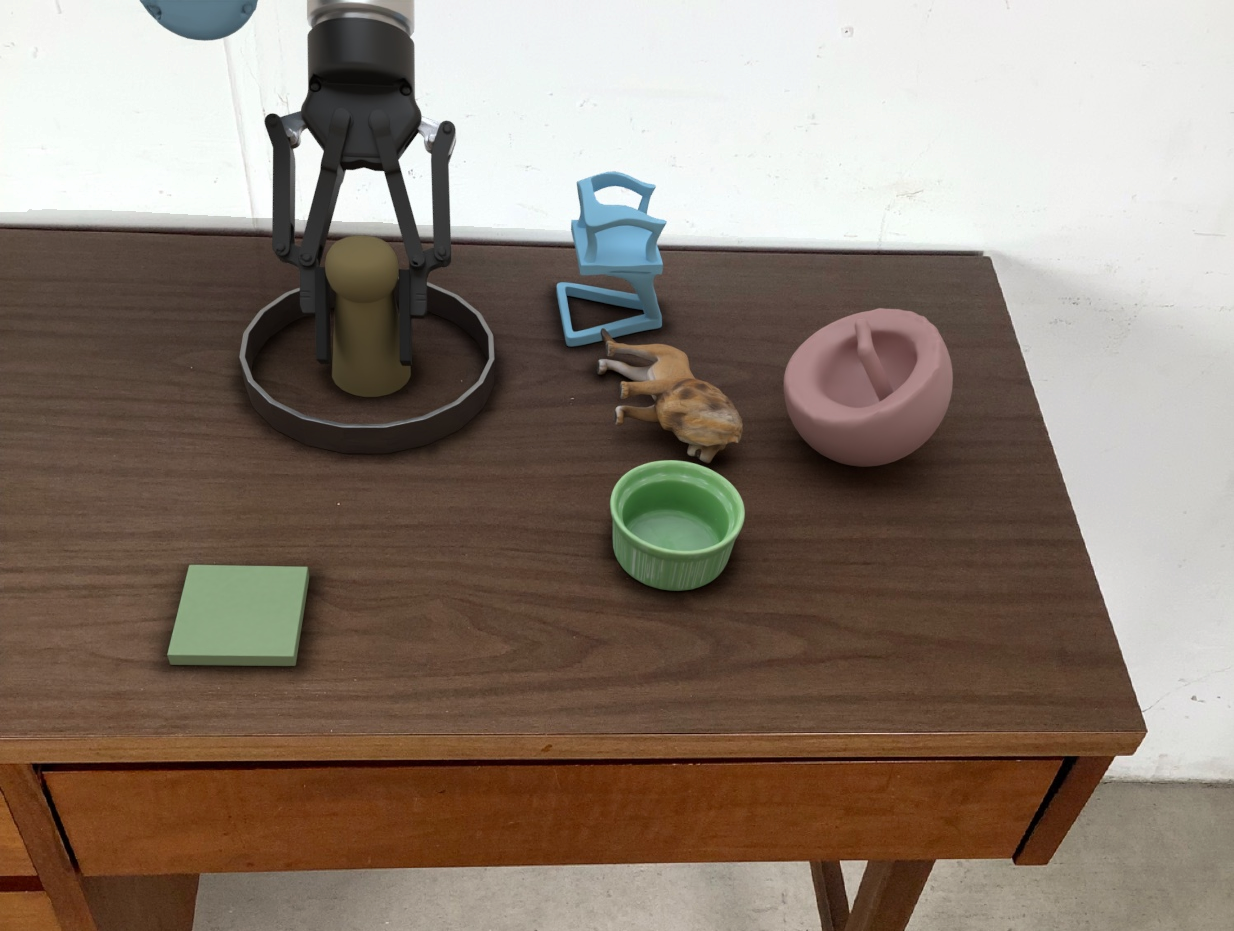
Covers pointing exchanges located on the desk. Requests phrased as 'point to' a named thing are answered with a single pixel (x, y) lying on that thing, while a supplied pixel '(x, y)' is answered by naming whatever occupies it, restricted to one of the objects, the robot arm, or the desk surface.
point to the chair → (614, 257)
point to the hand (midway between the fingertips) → (364, 362)
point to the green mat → (239, 616)
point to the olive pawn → (365, 317)
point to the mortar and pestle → (869, 386)
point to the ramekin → (674, 524)
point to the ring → (368, 435)
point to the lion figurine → (674, 397)
